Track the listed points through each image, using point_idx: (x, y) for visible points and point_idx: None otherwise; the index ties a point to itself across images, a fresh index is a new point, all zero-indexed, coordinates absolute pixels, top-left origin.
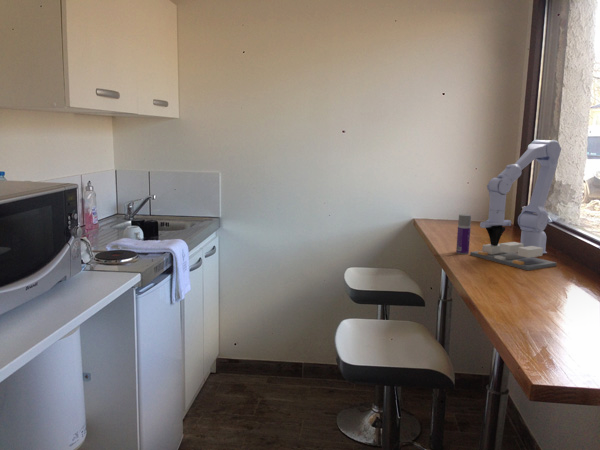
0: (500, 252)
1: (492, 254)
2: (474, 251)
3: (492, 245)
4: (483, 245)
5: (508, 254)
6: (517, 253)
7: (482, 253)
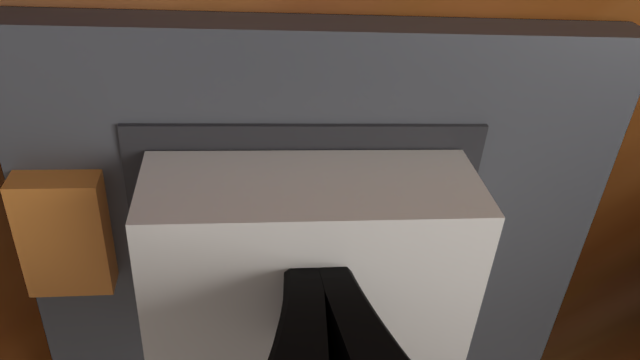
0: None
1: None
2: (75, 28)
3: (264, 310)
4: (130, 235)
5: None
6: (539, 334)
7: (24, 263)
